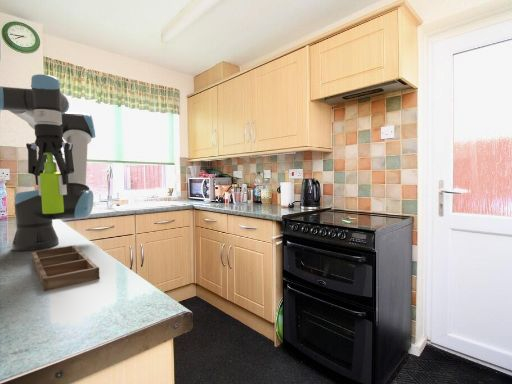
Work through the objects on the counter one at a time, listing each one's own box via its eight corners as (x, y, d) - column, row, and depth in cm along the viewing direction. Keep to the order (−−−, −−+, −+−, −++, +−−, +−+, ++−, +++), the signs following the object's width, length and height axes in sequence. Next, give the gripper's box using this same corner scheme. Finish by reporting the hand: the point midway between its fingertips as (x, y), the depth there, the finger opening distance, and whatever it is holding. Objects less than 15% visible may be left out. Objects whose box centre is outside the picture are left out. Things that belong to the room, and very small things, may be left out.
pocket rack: (32, 260, 99) (31, 251, 98) (75, 253, 107) (74, 245, 107) (43, 291, 72) (43, 279, 72) (99, 278, 80) (98, 267, 80)
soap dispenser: (70, 211, 99) (67, 152, 98) (49, 214, 93) (45, 151, 91) (60, 210, 102) (56, 153, 100) (38, 213, 95) (34, 152, 94)
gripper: (9, 123, 91) (15, 196, 93) (71, 122, 92) (76, 195, 94) (26, 126, 98) (31, 194, 100) (84, 126, 99) (88, 193, 101)
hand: (53, 194), depth 97 cm, fingers closed on soap dispenser, 6 cm apart
